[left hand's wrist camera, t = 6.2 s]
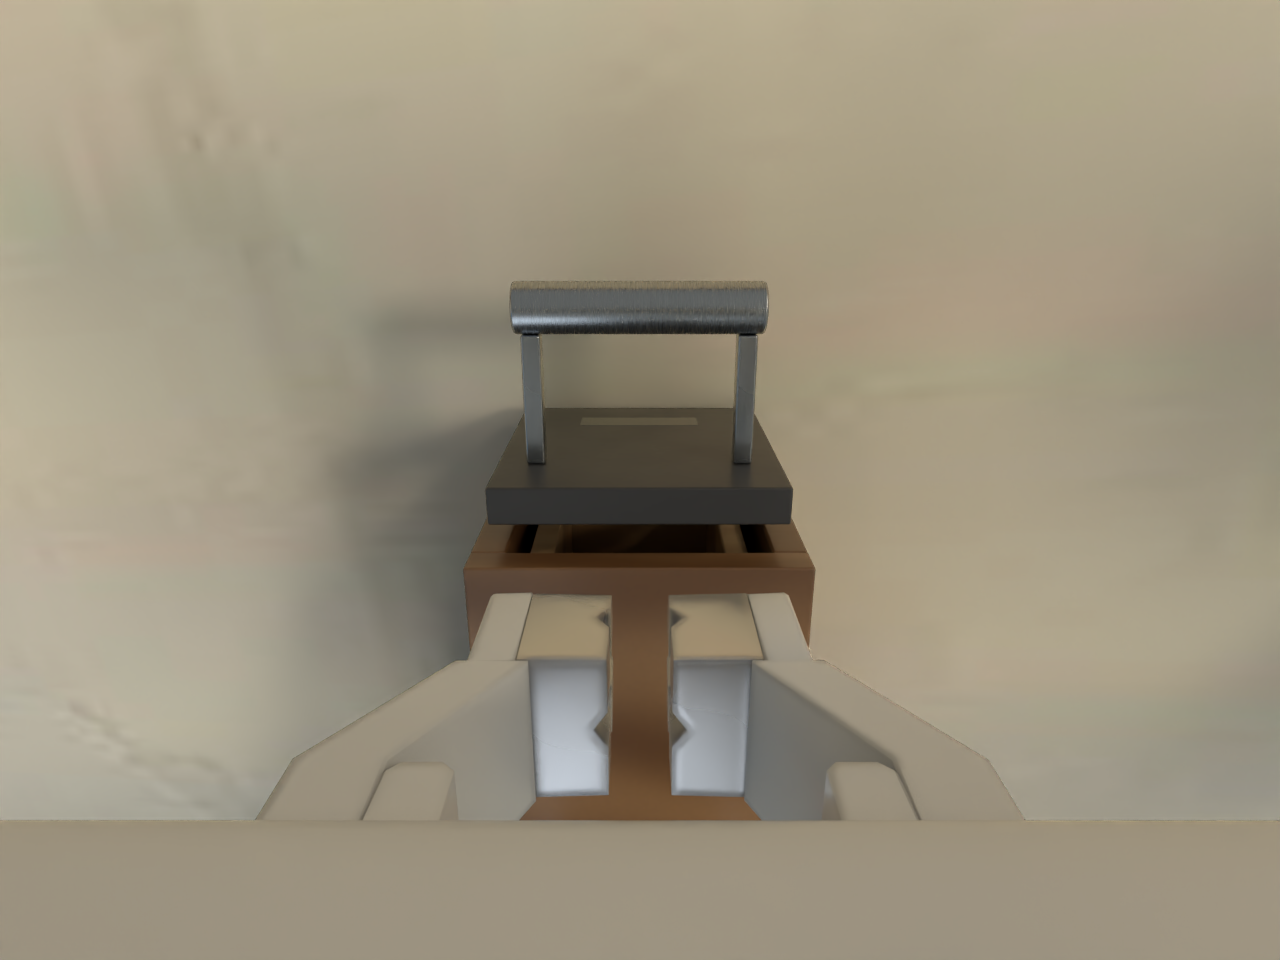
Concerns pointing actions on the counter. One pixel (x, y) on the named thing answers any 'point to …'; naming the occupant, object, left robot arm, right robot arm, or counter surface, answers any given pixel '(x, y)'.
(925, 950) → the left robot arm
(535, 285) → the drawer
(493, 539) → the cabinet
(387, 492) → the counter surface
